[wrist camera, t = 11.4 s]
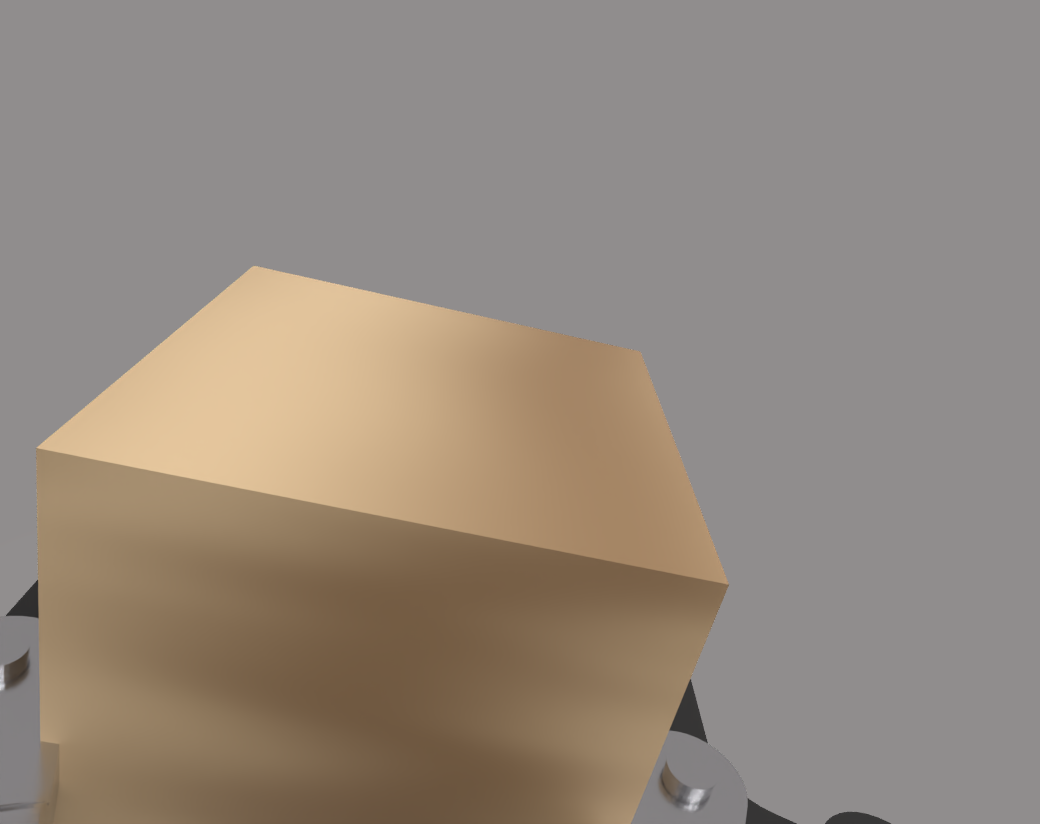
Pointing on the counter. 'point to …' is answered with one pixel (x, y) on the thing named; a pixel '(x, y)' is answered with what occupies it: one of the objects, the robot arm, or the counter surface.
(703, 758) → the robot arm
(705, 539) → the oak block
